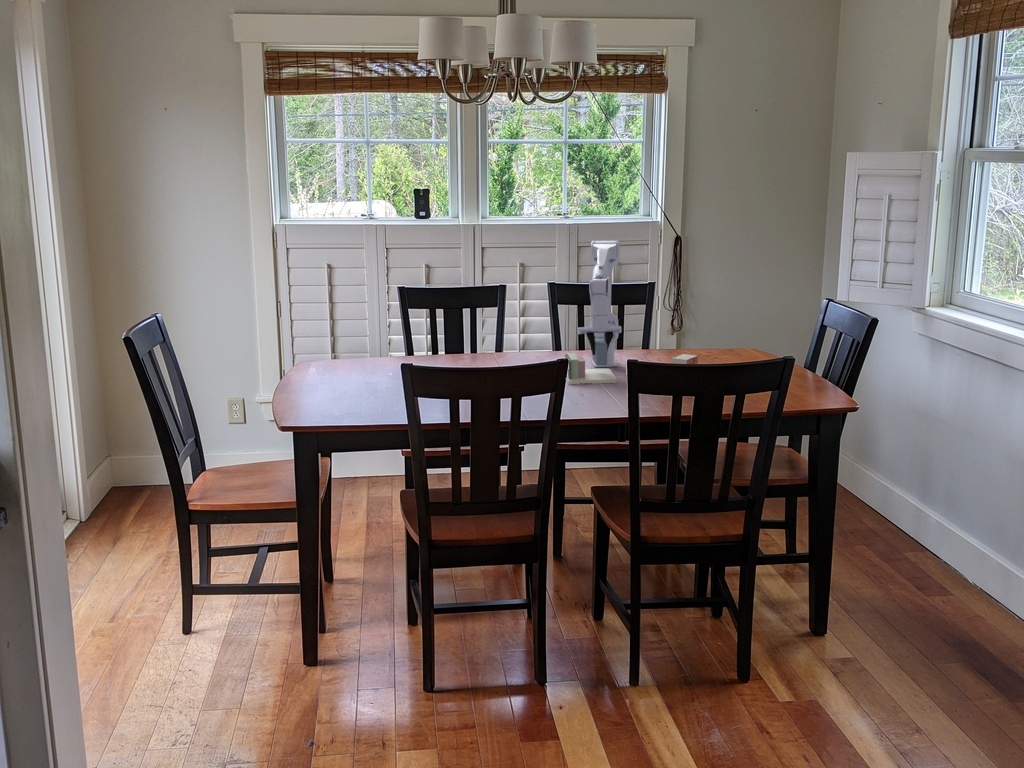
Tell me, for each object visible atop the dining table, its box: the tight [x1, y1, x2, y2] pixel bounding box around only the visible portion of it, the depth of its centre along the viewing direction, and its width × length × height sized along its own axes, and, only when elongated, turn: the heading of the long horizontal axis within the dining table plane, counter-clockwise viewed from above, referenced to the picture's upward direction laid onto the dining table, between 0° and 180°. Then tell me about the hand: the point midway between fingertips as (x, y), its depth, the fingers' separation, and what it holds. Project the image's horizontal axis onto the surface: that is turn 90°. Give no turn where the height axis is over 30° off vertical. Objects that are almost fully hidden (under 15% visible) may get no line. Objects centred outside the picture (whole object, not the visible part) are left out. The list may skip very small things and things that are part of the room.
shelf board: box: [566, 367, 618, 385], centre depth 332 cm, size 16×16×1 cm
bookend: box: [564, 353, 571, 379], centre depth 331 cm, size 12×1×6 cm, turn 3°
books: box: [566, 352, 586, 379], centre depth 331 cm, size 10×5×6 cm, turn 3°
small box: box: [670, 353, 699, 365], centre depth 314 cm, size 8×6×10 cm
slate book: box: [592, 339, 607, 366], centre depth 330 cm, size 10×4×7 cm, turn 3°
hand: (599, 354), depth 331 cm, fingers closed on slate book, 3 cm apart
